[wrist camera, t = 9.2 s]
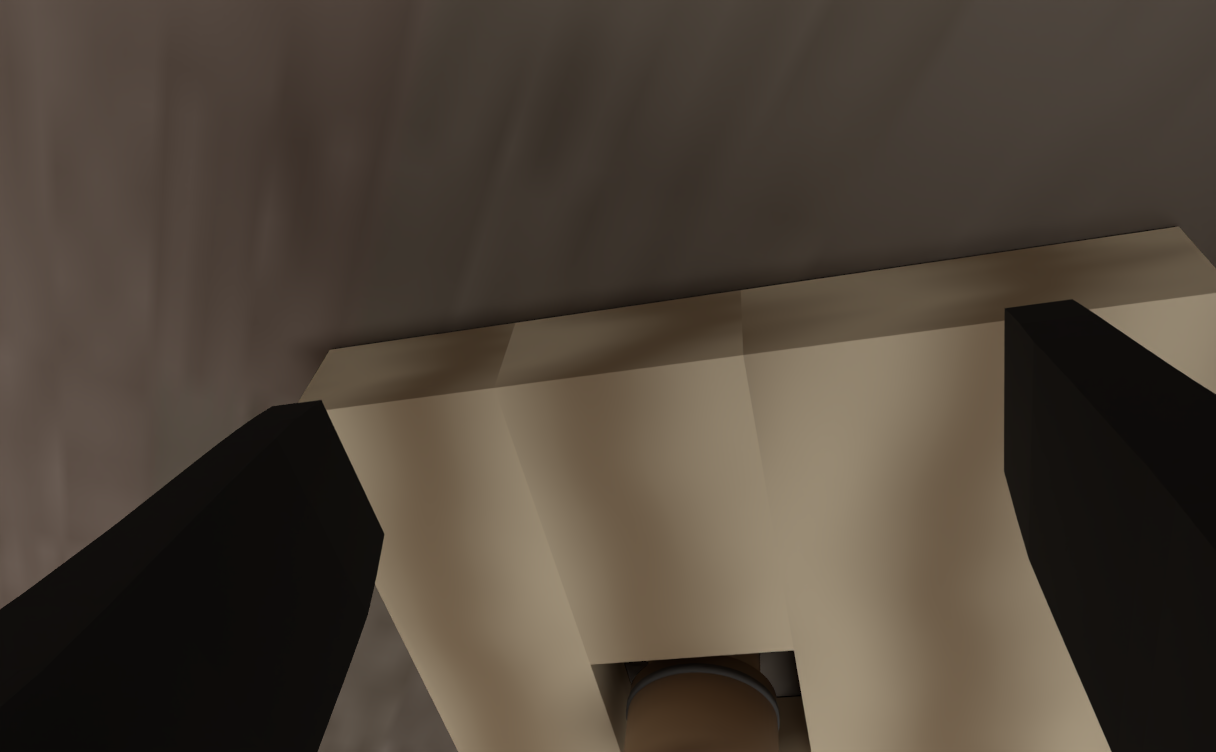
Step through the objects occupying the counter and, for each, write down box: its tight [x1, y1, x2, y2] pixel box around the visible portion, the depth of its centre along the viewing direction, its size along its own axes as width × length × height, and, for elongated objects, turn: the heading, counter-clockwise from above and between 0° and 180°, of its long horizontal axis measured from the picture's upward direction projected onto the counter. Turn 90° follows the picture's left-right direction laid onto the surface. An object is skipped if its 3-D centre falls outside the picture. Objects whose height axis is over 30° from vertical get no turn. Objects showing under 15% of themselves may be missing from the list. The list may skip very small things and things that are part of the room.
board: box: [298, 227, 1216, 752], centre depth 24 cm, size 18×18×2 cm
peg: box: [624, 653, 780, 752], centre depth 24 cm, size 4×4×7 cm
